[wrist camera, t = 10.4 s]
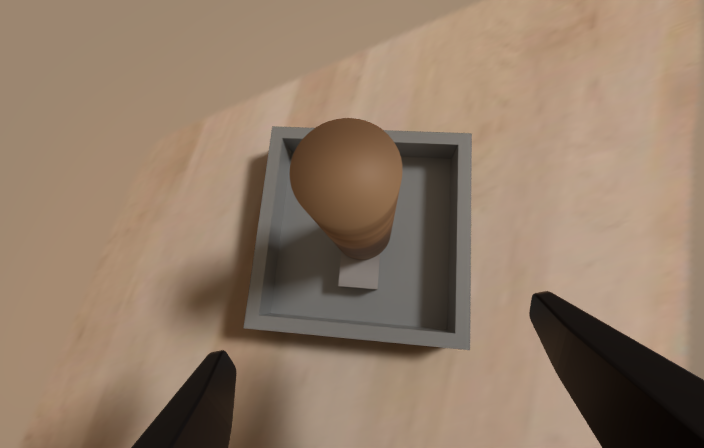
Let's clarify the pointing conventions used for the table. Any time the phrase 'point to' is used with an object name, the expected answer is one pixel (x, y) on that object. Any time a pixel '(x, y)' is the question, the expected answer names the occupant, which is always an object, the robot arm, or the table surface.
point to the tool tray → (395, 260)
